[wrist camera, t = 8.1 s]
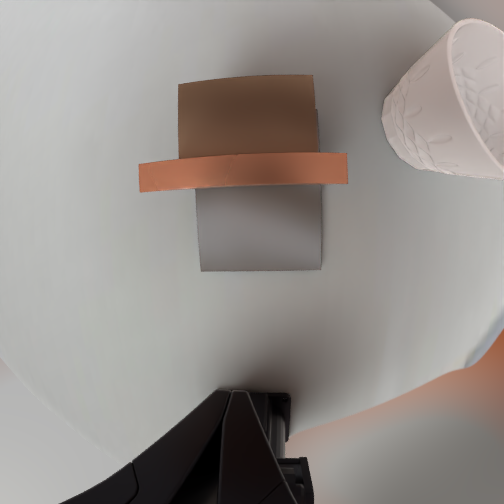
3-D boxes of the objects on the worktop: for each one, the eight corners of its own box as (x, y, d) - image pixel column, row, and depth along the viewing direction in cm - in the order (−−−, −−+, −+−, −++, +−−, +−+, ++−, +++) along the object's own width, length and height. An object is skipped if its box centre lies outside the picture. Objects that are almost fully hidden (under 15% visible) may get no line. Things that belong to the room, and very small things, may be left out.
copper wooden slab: (313, 184, 17) (347, 183, 9) (201, 188, 18) (139, 192, 9) (310, 107, 16) (336, 46, 8) (198, 112, 17) (140, 63, 8)
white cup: (379, 61, 16) (442, -10, 6) (465, 101, 15) (549, 73, 6) (364, 159, 17) (443, 138, 8) (454, 193, 17) (551, 207, 7)
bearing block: (319, 267, 19) (338, 306, 13) (203, 268, 20) (170, 306, 14) (315, 111, 17) (334, 76, 11) (195, 117, 18) (158, 88, 11)
